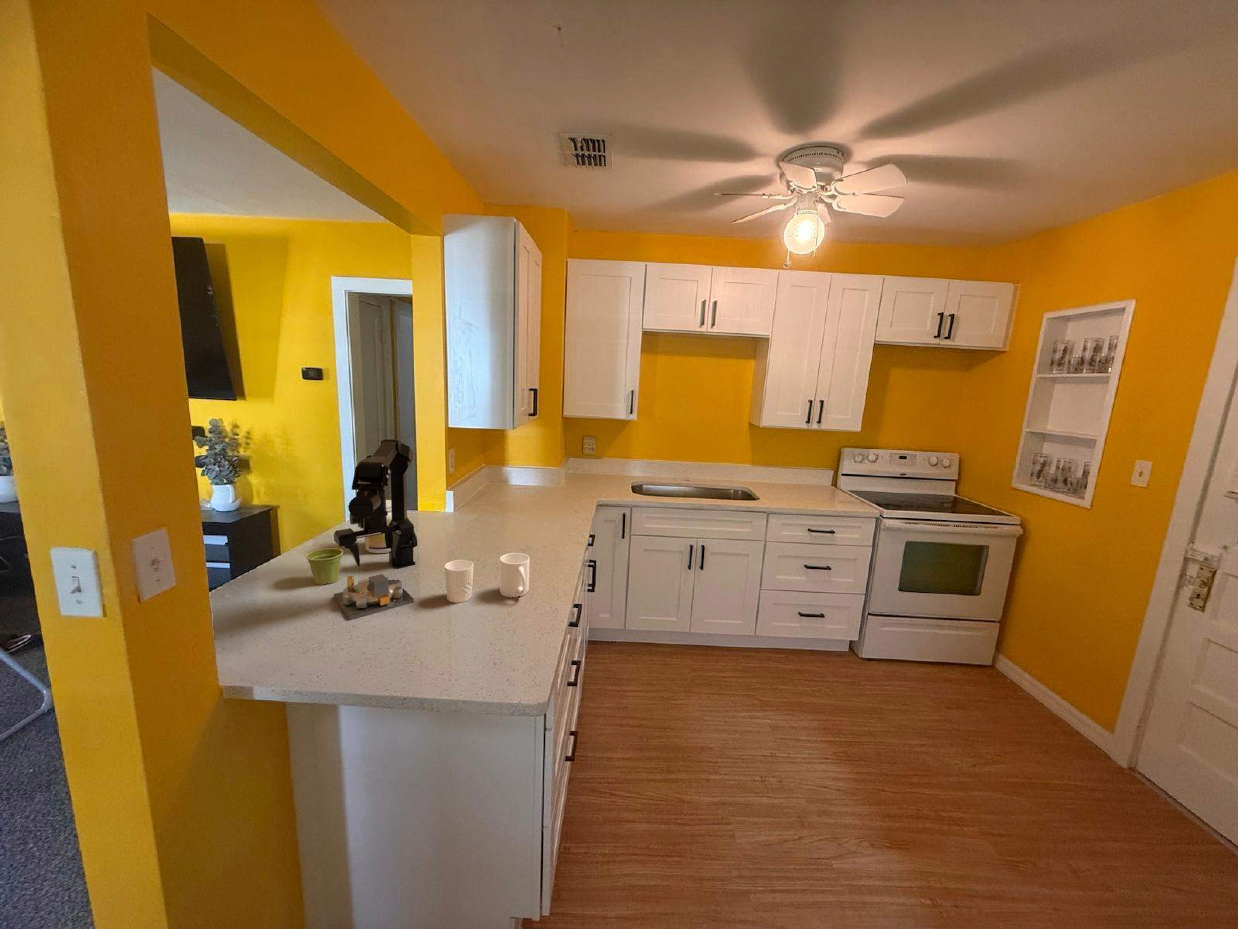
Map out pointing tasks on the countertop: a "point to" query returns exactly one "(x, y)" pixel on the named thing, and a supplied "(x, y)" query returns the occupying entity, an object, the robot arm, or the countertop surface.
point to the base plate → (356, 612)
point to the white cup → (459, 580)
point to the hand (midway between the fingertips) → (376, 561)
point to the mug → (514, 574)
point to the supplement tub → (379, 536)
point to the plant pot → (325, 565)
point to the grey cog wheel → (369, 593)
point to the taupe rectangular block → (378, 585)
